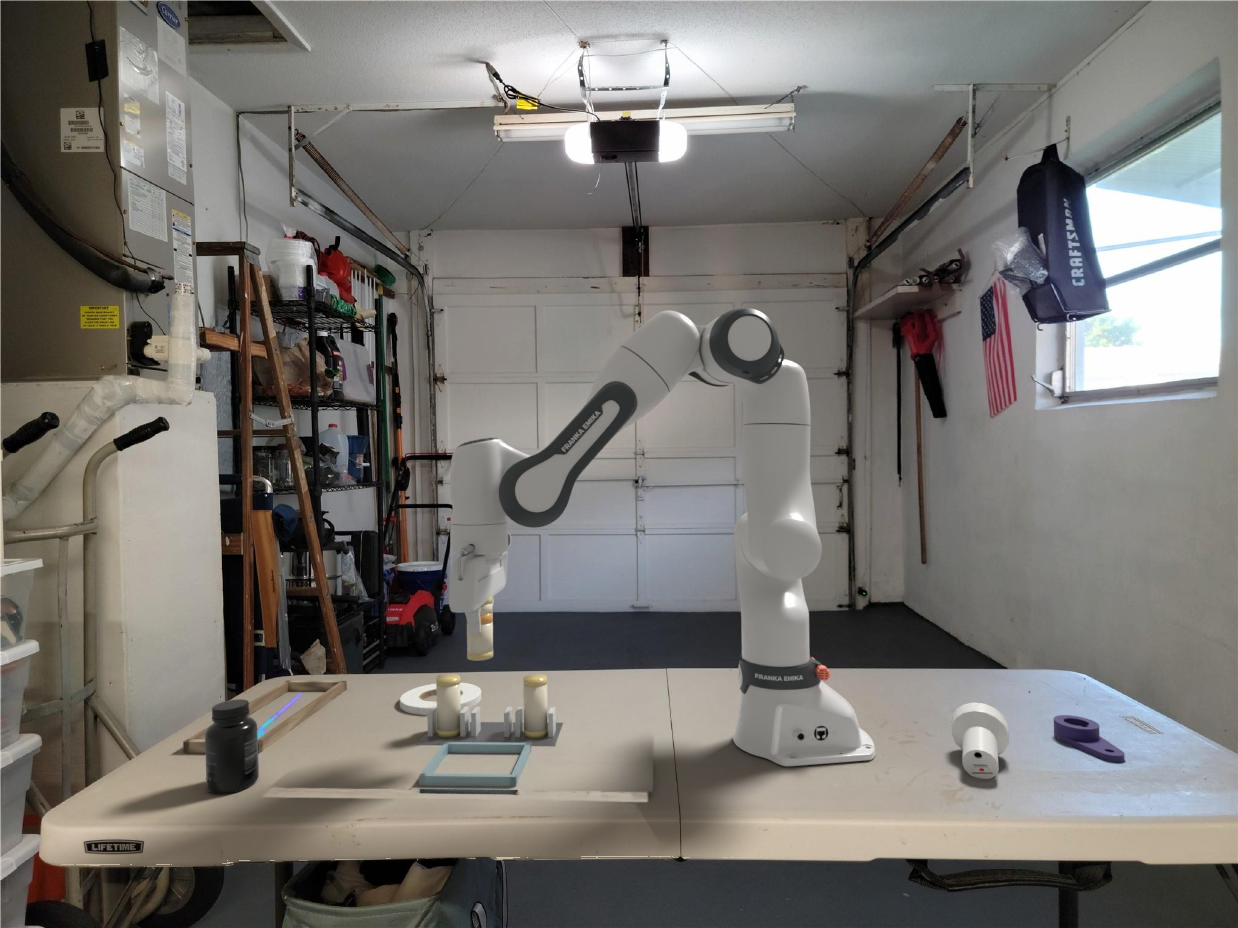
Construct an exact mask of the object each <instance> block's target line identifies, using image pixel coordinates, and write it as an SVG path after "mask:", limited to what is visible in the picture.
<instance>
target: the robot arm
mask: <svg viewBox="0 0 1238 928" xmlns="http://www.w3.org/2000/svg"><path fill="white" fill-rule="evenodd" d="M780 356H781V358H780ZM785 356H786V355H785V351H784V349H783V346H782V345H781V343H780V340H779V335H778V333H777V330H776V328H775V325H774V324H773V322H772V320H771V319H770V318H769V317H768V316H767V315H766V314H765V313H763V312H762V311H760V310H757V309H755V308H752V307H740V308H734V309H730V310H728V311H726V312H724V313H722V314H721V315H720V316H718V317H716V318H715V319H713V320H711V322H709V323H707V324H706V325H698V324H696V323H694V322H693V321H692V320H691V319H690V318H689V317H688V316H686V315H685V314H683V313H681V312H678V311H675V310H669V309H668V310H663V311H660V312H658V313H657V314H655V315H654V316H653V317H651V318H650V319H648V320H647V321H645V322H644V323H643V324H642V325H640V326H639V327H638V328H637V329H636V330H635V331H634V332H632V333H631V334H630V335H629V336H628V337H627V338H626V339H625V340H624V341H623V342H622V343H621V344H620V345H619V347H617V349H616V350H615V351H614V352H613V353H612V354H611V355H610V357H609V358H608V360H607V361H606V362H605V363H604V365H603V366H602V368H601V369H600V371H599V373H598V374H597V375H596V377H595V379H594V381H593V383H592V387H591V390H590V393H589V395H588V398H587V400H586V401H585V404H584V405H583V406H582V408H581V409H580V410H579V411H578V413H577V414H576V415H575V416H574V417H573V419H571V421H570V422H569V423H568V424H567V425H566V426H565V427H564V428H563V429H562V430H561V431H560V433H558V435H556V437H555V438H554V439H553V440H552V441H551V442H550V443H548V445H547V446H546V447H544V448H543V449H542V450H540V451H539V452H537V453H535V454H534V455H529V454H527V453H524V452H522V451H520V450H518V449H516V448H514V447H512V446H510V445H509V444H507V443H505V442H504V441H503V440H502V439H501V438H498V437H487V438H485V437H484V438H479V439H473V440H468V441H465V442H464V443H461V444H459V445H458V446H457V447H456V449H455V450H454V451H453V453H452V457H451V463H450V470H449V471H450V472H449V497H450V501H451V504H452V505H451V506H452V513H451V517H450V523H449V525H450V526H449V527H450V529H449V530H450V531H449V533H450V534H449V535H450V537H449V538H450V554H452V555H456V556H458V557H456V558H455V559H454V560H453V561H452V562H451V565H450V571H449V572H450V573H449V584H448V585H449V587H448V588H449V590H448V591H449V592H448V593H449V594H448V604H449V605H448V606H449V609H450V611H451V612H452V613H464V614H465V617H466V622H467V621H468V632H469V634H479V633H480V632H481V631H482V621H481V618H480V612H481V605H483V604H484V603H485V602H487V601H488V600H489V598H490V597H491V596H493V604H494V603H495V598H494V597H495V596H496V595H497V594H498V593H500V592H501V591H503V590H504V589H505V587H506V584H507V578H508V576H507V575H508V561H509V552H508V551H509V550H508V548H509V547H511V544H512V535H511V533H510V532H509V531H508V518H509V519H510V520H511V521H513V522H514V523H515V524H518V525H520V526H522V527H526V528H530V529H531V528H534V529H537V528H543V527H546V526H549V525H550V524H552V523H554V522H556V521H557V520H558V519H559V518H560V517H561V516H562V515H563V513H564V512H565V510H566V508H567V506H568V504H569V501H570V498H571V495H572V493H573V492H572V491H573V488H574V486H575V483H576V481H577V480H578V478H579V476H581V474H582V473H583V472H584V470H586V469H587V467H588V466H589V465H590V464H591V463H592V462H593V460H594V459H595V458H596V457H597V456H598V454H599V453H601V451H603V449H604V448H605V447H606V446H607V444H608V443H609V442H610V441H611V440H612V439H613V438H614V437H615V436H616V435H618V434H619V433H620V432H622V431H623V430H624V429H626V428H628V427H629V426H631V425H632V424H634V423H637V422H638V421H639V420H640V419H642V418H643V417H645V416H646V415H647V414H649V413H650V412H651V411H652V410H653V409H655V408H656V407H657V406H658V405H659V404H660V403H661V402H663V400H664V399H665V398H666V397H667V396H668V395H669V394H670V392H671V391H673V389H674V388H675V386H677V384H678V383H679V382H680V381H681V380H683V379H684V378H685V377H686V376H691V377H692V378H694V379H696V380H698V381H700V382H701V383H703V384H706V385H709V386H712V387H719V388H720V387H721V388H722V387H723V388H724V387H727V386H730V385H735V386H736V387H737V390H738V391H739V393H740V396H741V398H742V404H743V405H742V406H743V413H742V415H743V416H742V443H741V444H742V447H741V449H742V450H741V453H742V454H741V456H742V457H741V474H742V479H743V484H744V492H745V493H744V494H745V501H746V503H745V504H746V512H745V513H744V514H742V515H741V517H740V518H739V519H738V520H737V522H736V524H735V526H734V530H733V543H734V555H735V556H734V557H735V558H734V559H735V568H736V577H737V579H736V580H737V585H738V594H739V602H740V616H741V619H740V620H741V623H740V624H741V654H740V655H739V663H738V686H739V690H740V701H739V702H740V703H739V709H738V710H739V711H738V716H737V721H736V727H735V729H734V734H733V737H732V739H733V742H734V744H735V745H736V747H738V748H739V749H741V750H743V752H747V754H751V755H754V756H756V757H761V758H764V759H767V760H769V761H772V762H773V763H775V764H777V765H780V766H782V767H796V766H797V767H798V766H809V765H823V764H835V763H850V762H860V761H871V760H873V759H874V758H875V756H876V748H875V743H874V741H873V739H872V738H871V736H870V735H869V734H868V733H867V732H866V731H865V730H863V728H861V727H860V724H859V720H858V717H857V714H856V711H855V709H854V707H853V706H852V705H851V703H849V701H848V700H846V698H845V697H843V696H842V695H841V694H839V693H838V692H837V691H835V690H834V689H833V688H831V687H830V686H829V685H828V684H827V683H825V681H828V680H829V679H830V678H831V671H830V670H829V669H828V668H827V666H826V665H823V664H822V663H821V662H820V661H818V660H817V659H815V658H814V657H813V656H810V611H809V607H808V605H807V602H806V596H805V593H804V586H803V581H802V579H803V578H806V577H807V576H809V575H810V574H811V573H813V572H814V571H815V569H817V566H818V565H819V563H820V560H821V558H822V555H823V553H822V552H823V546H822V541H821V538H820V535H819V532H818V528H817V519H816V518H817V517H816V511H815V509H816V507H815V502H814V496H813V489H812V481H811V468H810V467H811V428H812V427H811V423H812V422H811V420H812V419H811V414H812V413H811V403H810V393H809V384H808V380H807V376H806V371H805V370H804V368H803V367H802V366H801V365H799V363H796V362H794V361H792V360H789V359H785Z"/></svg>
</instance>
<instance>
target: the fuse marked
mask: <svg viewBox="0 0 1238 928" xmlns="http://www.w3.org/2000/svg"><path fill="white" fill-rule="evenodd" d="M493 607H494V603H493V596H491V597H490V598H489V600H488V601H487V602H485V603H484V604H483V605H481V612H480V618H481V621H482V631H481V632H480V633H479V634H469V632H468V621H467V620H466V646H467V647H466V651H467V652H466V654H467V655H466V658H467V660H470V661H473V662H474V661H476V662H479V661H486V660H490V659H492V658H493V657H494V624H493V623H494V616H493V615H494V610H493Z"/></svg>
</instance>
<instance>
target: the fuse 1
mask: <svg viewBox="0 0 1238 928" xmlns="http://www.w3.org/2000/svg"><path fill="white" fill-rule="evenodd" d="M435 682H436V683H435V684H436V695H435V696H436V701H437V735H438V736H439V737H443V738H448V737H454V736H457V735H459V734H460V712H461V711H462V710H461V693H460V683H461V675H460V674H457V673H447V674H441V675H439V676H437V677H436V679H435Z"/></svg>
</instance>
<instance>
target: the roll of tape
mask: <svg viewBox="0 0 1238 928" xmlns="http://www.w3.org/2000/svg"><path fill="white" fill-rule="evenodd" d="M460 693H461V711H462V710H463V709H464V707H470V708H472V707H474V706H476V705H477V704H478V703H480V702H481V700H482V689H481V688H480V687H479V686H478V685H475V684H471V683H466V682H460ZM433 696H436V683H431V684H426V685H420V686H418V687H414V688H413V689H410V690H408V691H406V692H404V693H403V694H401V696H400V697H399V708H400V709H401V710H402V711H404V712H406V713H408V714H412V715H420V716H427V717H428V714H427V713H428V712H429V711H430V709H431V708H432V707H433V706H437V700H436V701H429V700H425V699H427V698H430V697H433Z"/></svg>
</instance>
